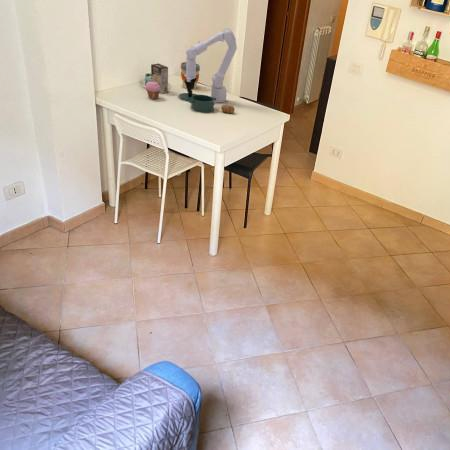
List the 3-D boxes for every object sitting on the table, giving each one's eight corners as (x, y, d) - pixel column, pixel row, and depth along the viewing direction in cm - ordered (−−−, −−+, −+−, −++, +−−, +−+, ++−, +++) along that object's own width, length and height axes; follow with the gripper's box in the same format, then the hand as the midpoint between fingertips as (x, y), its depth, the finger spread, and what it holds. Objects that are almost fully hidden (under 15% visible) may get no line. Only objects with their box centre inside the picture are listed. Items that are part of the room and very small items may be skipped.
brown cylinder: (234, 112, 269) (235, 105, 266) (233, 114, 265) (234, 107, 262) (221, 110, 268) (222, 103, 265) (220, 112, 264) (220, 105, 262)
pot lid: (174, 95, 276) (174, 88, 274) (193, 93, 286) (193, 86, 283) (186, 102, 269) (187, 95, 266) (205, 100, 278) (206, 93, 276)
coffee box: (150, 89, 279) (150, 64, 270) (158, 88, 284) (158, 63, 275) (161, 93, 275) (160, 68, 267) (168, 92, 280) (168, 66, 272)
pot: (183, 106, 262) (183, 96, 259) (208, 103, 274) (208, 93, 271) (195, 114, 255) (196, 103, 252) (221, 110, 267) (221, 100, 264)
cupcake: (153, 101, 262) (152, 84, 256) (142, 97, 265) (142, 80, 259) (163, 98, 268) (163, 82, 263) (153, 94, 271) (153, 78, 266)
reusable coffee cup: (190, 91, 289) (190, 68, 281) (176, 85, 294) (176, 63, 286) (203, 88, 299) (203, 66, 291) (189, 83, 304) (190, 61, 296)
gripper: (186, 64, 273) (186, 86, 281) (181, 70, 261) (181, 92, 268) (198, 66, 274) (197, 88, 281) (193, 72, 262) (193, 94, 269)
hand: (190, 90), depth 275 cm, fingers open, 7 cm apart
